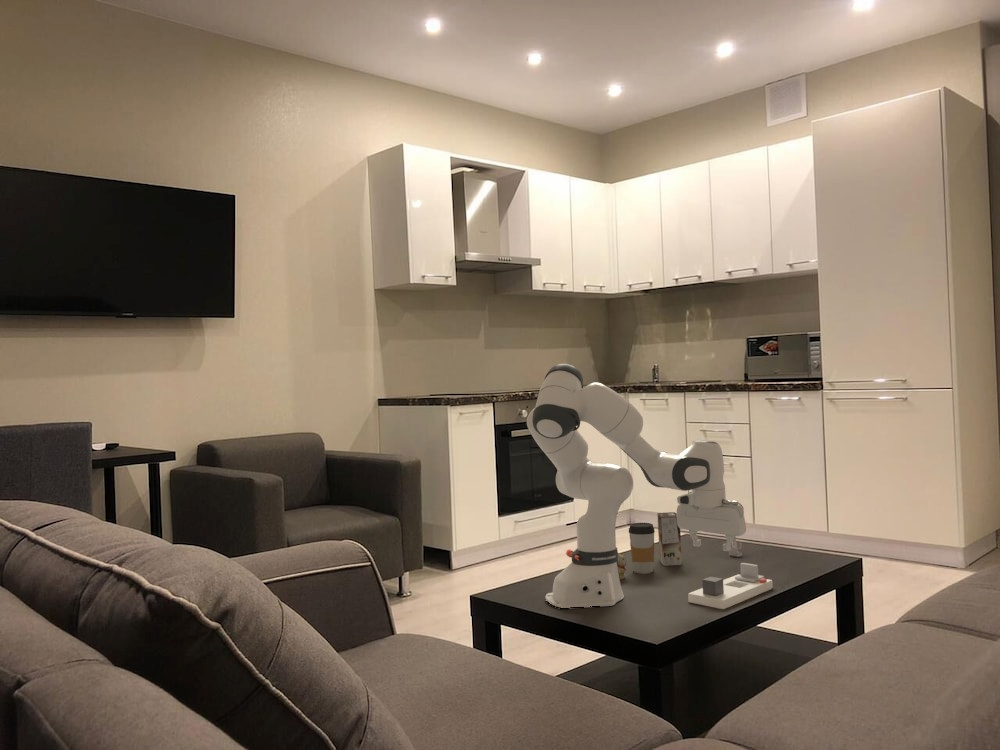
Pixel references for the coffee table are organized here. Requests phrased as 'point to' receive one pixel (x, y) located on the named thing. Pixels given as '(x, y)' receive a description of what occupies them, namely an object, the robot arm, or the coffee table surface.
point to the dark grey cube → (713, 586)
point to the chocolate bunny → (621, 566)
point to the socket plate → (731, 593)
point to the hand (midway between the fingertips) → (711, 548)
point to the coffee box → (669, 539)
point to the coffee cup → (642, 547)
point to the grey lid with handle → (749, 573)
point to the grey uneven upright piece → (734, 548)
